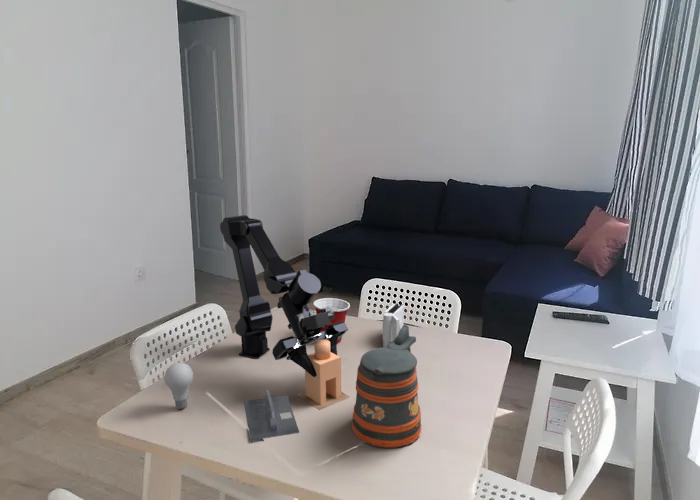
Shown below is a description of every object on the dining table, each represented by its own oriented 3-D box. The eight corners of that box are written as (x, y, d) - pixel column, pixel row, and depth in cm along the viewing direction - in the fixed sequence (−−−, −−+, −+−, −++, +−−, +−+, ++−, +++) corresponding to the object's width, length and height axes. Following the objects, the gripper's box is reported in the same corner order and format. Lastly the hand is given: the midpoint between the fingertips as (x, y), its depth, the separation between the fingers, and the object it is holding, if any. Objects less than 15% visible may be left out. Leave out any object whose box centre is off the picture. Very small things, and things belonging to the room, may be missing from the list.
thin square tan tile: (297, 396, 125) (296, 394, 125) (327, 384, 131) (327, 382, 131) (319, 411, 118) (319, 409, 118) (350, 398, 124) (350, 396, 124)
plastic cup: (350, 348, 152) (349, 309, 149) (312, 348, 152) (311, 309, 149) (350, 333, 163) (350, 296, 160) (315, 333, 163) (314, 296, 160)
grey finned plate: (244, 403, 122) (243, 383, 121) (287, 397, 125) (286, 377, 124) (250, 442, 107) (249, 420, 106) (299, 434, 110) (298, 412, 109)
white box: (399, 353, 148) (399, 320, 146) (380, 352, 149) (380, 319, 147) (404, 334, 162) (404, 303, 159) (386, 333, 163) (386, 302, 160)
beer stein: (372, 396, 125) (373, 317, 120) (433, 408, 120) (436, 325, 115) (341, 439, 108) (340, 349, 103) (410, 456, 103) (413, 361, 98)
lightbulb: (170, 418, 116) (165, 372, 114) (165, 405, 122) (161, 361, 119) (198, 411, 119) (194, 366, 116) (192, 399, 124) (189, 356, 122)
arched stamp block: (305, 394, 125) (304, 341, 122) (326, 387, 129) (325, 335, 125) (320, 405, 120) (319, 350, 117) (341, 396, 124) (340, 343, 121)
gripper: (277, 306, 116) (306, 369, 111) (342, 289, 128) (373, 346, 122) (260, 329, 124) (287, 390, 118) (324, 311, 136) (351, 366, 130)
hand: (326, 372), depth 122 cm, fingers closed on arched stamp block, 6 cm apart
